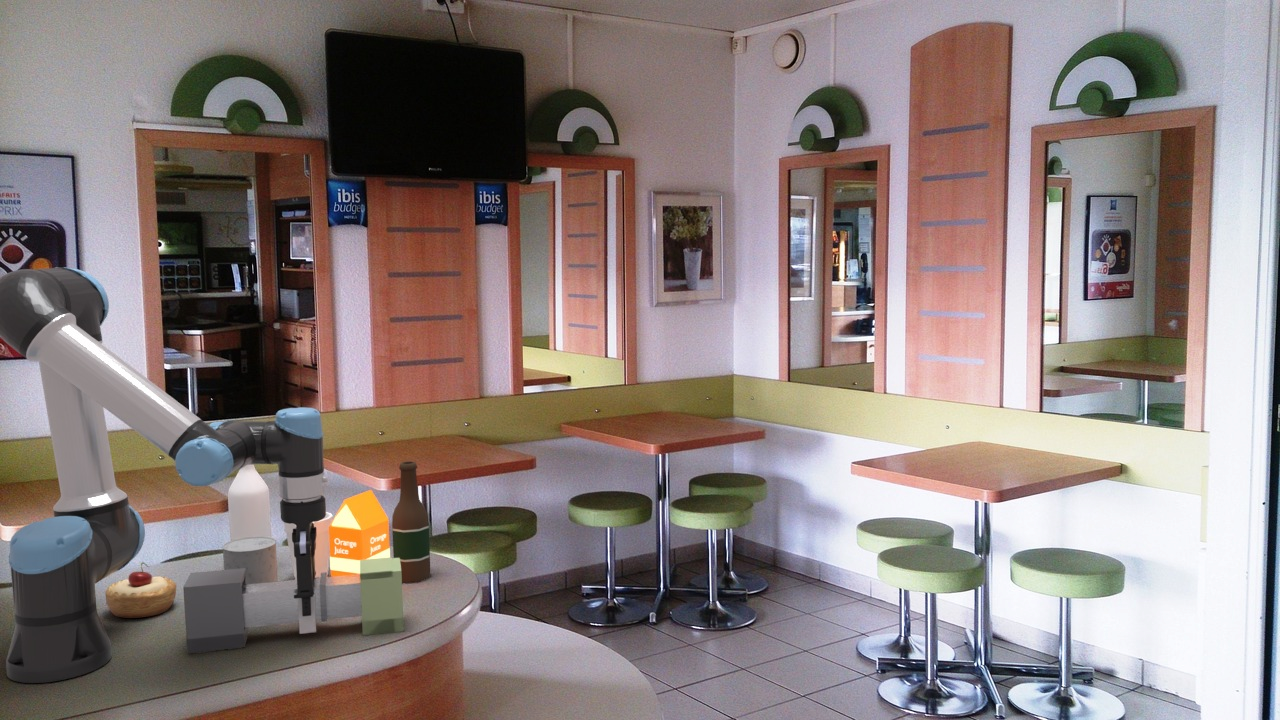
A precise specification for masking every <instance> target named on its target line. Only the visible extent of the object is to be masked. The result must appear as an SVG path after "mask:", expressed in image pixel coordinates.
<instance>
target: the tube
mask: <svg viewBox="0 0 1280 720" xmlns="http://www.w3.org/2000/svg"><path fill="white" fill-rule="evenodd" d="M313 591H314V594H315V615H316V621H320V622H321V623H325V622H328V620H334V619H346V618H355V617H362V606H361V583H360V574H358V575H347V576H336V577H331V576H328V575H327V572H325V573H321V576H320V578H313ZM294 595H297V580H295V579H293V580H282V581H281V580H280V581H278V582H269V583H258V584H246V585H242V602H243V620H244V628H246V627H249V628H255V627H263V626H265V627H266V626H276V625H286V624H294V623H295V624H296V623H299V608H298V598H294Z"/></svg>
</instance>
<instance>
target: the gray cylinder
mask: <svg viewBox="0 0 1280 720" xmlns="http://www.w3.org/2000/svg"><path fill="white" fill-rule="evenodd" d="M221 547H222V553H223V554H222V555H223V570H230V569H242V568H246V584H258V583H269V582H279V580H278V579H279V578H278V577H279V576H278V560H277V557H278V556H277V540H276V539H275V538H273V537H272V538H270V537H247V538H241V539H236V540H233V541H230V540H229V541H227V542H226V543H223V545H222V546H221Z"/></svg>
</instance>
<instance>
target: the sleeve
mask: <svg viewBox="0 0 1280 720" xmlns="http://www.w3.org/2000/svg"><path fill="white" fill-rule="evenodd" d="M242 585H246V568H242V569H230V570H224V569H219V570H209V571H197V572H196V571H195V572H190V573H189V575H188V577H187V579H186V581H185V582H184V585H183V588H182V589H183V590H182V591H183V604H184V606H183V607H184V619H185V623H184V624H185V637H186V651H187V653H186V654H188V655H189V654H197V653H198V654H199V653H208V651H209V652H215V651H214V650H218V651H225V650H224V649H228V650H233V649H232V648H238V649H243V648H242V647H244V646H246V644H247V643H246V642H247V640H246V639H248V637H247V635H248V636H249V633H248V632H250V627H246V628H244V620H243V602H242ZM245 643H246V644H245ZM244 648H245V647H244ZM206 651H207V652H206Z"/></svg>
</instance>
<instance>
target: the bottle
mask: <svg viewBox="0 0 1280 720" xmlns="http://www.w3.org/2000/svg"><path fill="white" fill-rule="evenodd" d="M227 491H228V492H227V504H228V505H227V506H228V507H227V508H228V509H227V510H228V520H229V521H228V523H229V525H228V526H229V542H230V541H233V540H236V539H241V538H247V537H270V538H273V537H272V519H271V518H272V517H271V516H272V515H271V501H270V489H269V486H268V485H267V483H266V481H264V479H263V477H261V475H260V474H259V473H258V471H257V469H256V468H255V464H254V465H246V466H245V467H243V468H241V469H239V470H238V472H237V474H236V476H235V477H234V479H233V481H232V483H231V485H230V486H229V488H228V490H227Z"/></svg>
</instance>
